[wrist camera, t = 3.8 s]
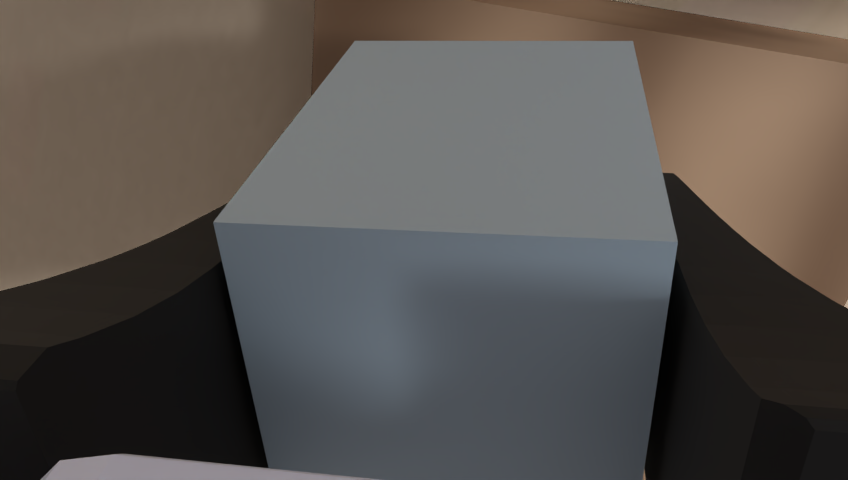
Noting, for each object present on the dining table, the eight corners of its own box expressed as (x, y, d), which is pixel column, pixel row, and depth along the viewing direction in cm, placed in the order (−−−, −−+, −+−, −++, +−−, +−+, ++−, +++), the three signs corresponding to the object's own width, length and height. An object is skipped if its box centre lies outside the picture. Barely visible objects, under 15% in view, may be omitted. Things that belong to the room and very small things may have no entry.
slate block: (632, 41, 12) (677, 242, 7) (610, 277, 14) (632, 554, 9) (355, 41, 13) (213, 222, 8) (377, 265, 15) (279, 516, 10)
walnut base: (926, 52, 18) (963, 83, 16) (724, 458, 25) (735, 508, 24) (339, -45, 19) (316, -26, 17) (316, 374, 26) (298, 415, 25)
